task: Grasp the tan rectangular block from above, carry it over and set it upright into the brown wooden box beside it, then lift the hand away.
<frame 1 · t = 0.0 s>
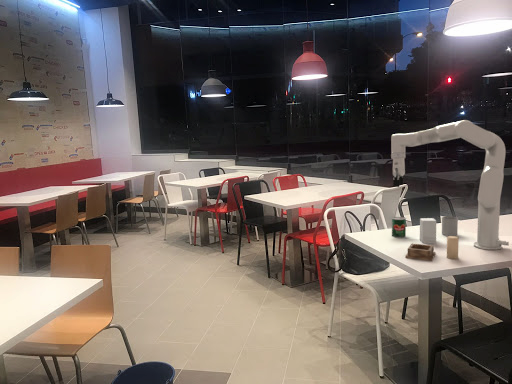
hand: (398, 185, 225), 31 cm above the table, tool pointing down, fingers open, 9 cm apart
supplement box: (427, 241, 221), on the table
brown wooden box: (420, 255, 196), on the table
tan rectangular block: (452, 257, 192), on the table
canned tomato: (398, 236, 235), on the table
cup: (449, 234, 233), on the table
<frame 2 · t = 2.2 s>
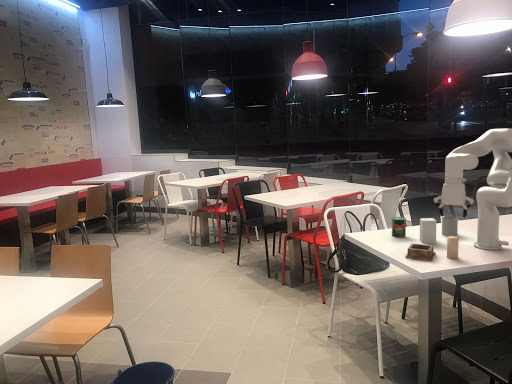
hand: (452, 216, 189), 20 cm above the table, tool pointing down, fingers open, 9 cm apart
nothing on the table moved.
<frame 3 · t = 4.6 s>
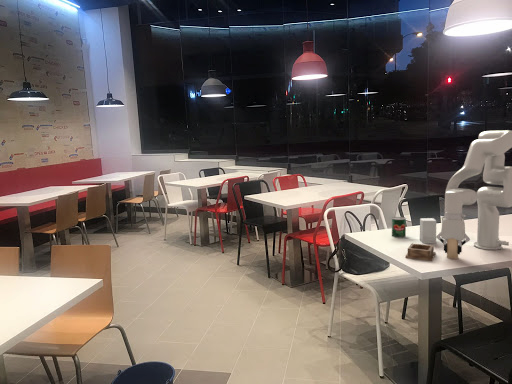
hand: (452, 252, 191), 2 cm above the table, tool pointing down, fingers closed on tan rectangular block, 5 cm apart
tan rectangular block: (452, 257, 192), on the table, touching gripper
everything else where it was.
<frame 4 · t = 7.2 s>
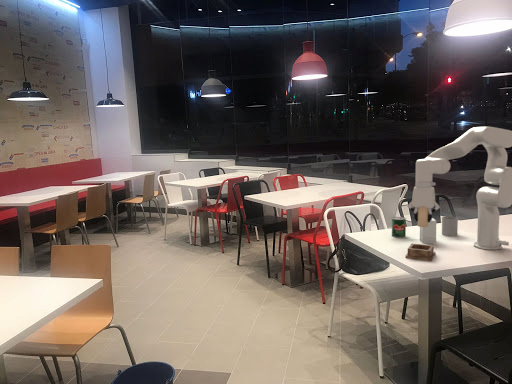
hand: (423, 221, 193), 18 cm above the table, tool pointing down, fingers closed on tan rectangular block, 5 cm apart
tan rectangular block: (422, 225, 194), point 15 cm above the table, touching gripper
everything else where it was.
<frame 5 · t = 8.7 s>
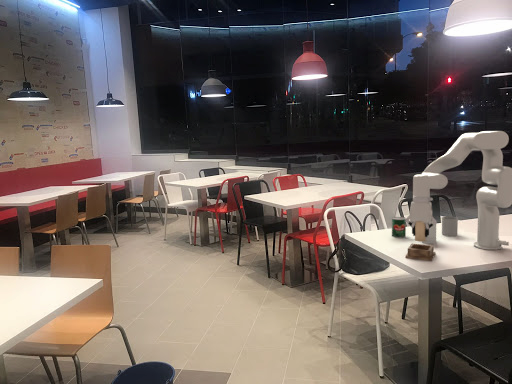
hand: (420, 235, 195), 10 cm above the table, tool pointing down, fingers closed on tan rectangular block, 5 cm apart
tan rectangular block: (420, 240, 195), point 8 cm above the table, touching gripper
everything else where it was.
when the fingers open (5 cm above the table, at t = 10.1 s): tan rectangular block drops 1 cm, resting on brown wooden box.
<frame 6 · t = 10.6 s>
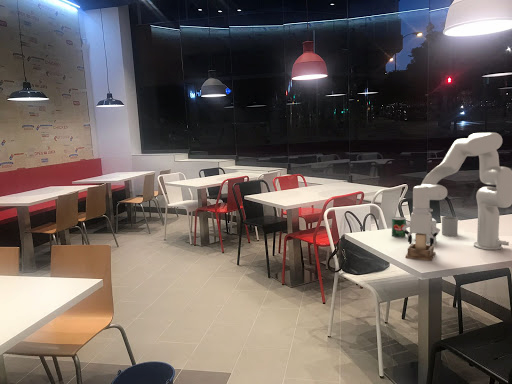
hand: (420, 244, 196), 6 cm above the table, tool pointing down, fingers open, 9 cm apart
tan rectangular block: (420, 253, 196), point 1 cm above the table, touching brown wooden box
everything else where it was.
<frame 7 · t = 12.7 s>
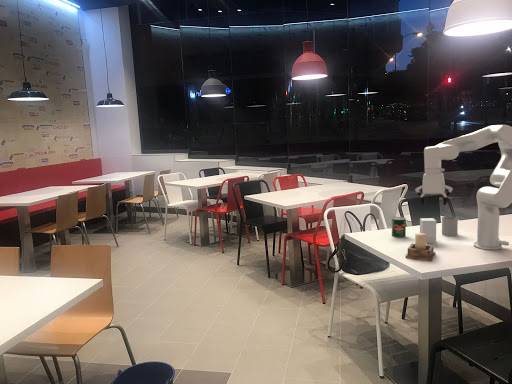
hand: (434, 204, 199), 24 cm above the table, tool pointing down, fingers open, 9 cm apart
nothing on the table moved.
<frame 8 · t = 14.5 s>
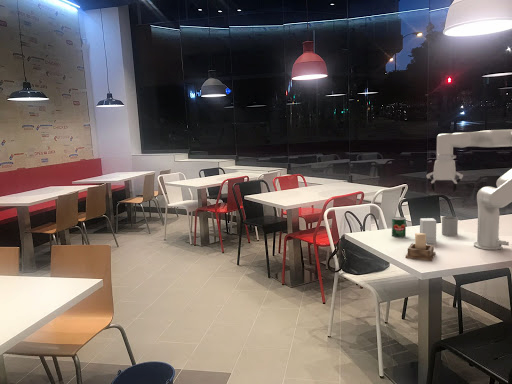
hand: (444, 191, 204), 30 cm above the table, tool pointing down, fingers open, 9 cm apart
nothing on the table moved.
at the end: tan rectangular block 0.0 cm off-centre on the brown wooden box, point 1.1 cm above the brown wooden box's base; tan rectangular block tilted 1°; the gripper is holding nothing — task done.
